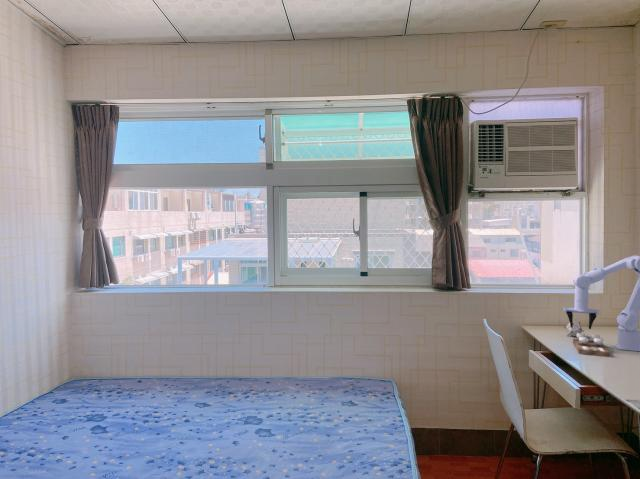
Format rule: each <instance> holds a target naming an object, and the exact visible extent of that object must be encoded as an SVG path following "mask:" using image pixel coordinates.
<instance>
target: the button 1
mask: <svg viewBox="0 0 640 479" xmlns="http://www.w3.org/2000/svg"><path fill="white" fill-rule="evenodd" d="M578 339H579V342H583V343H587V342H588V340H589V338H588V337H586V336H585V337H579V338H578Z"/></svg>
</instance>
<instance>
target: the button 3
mask: <svg viewBox="0 0 640 479" xmlns="http://www.w3.org/2000/svg"><path fill="white" fill-rule="evenodd" d="M594 343H596V344H604V339H603V338H594Z"/></svg>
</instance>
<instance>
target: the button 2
mask: <svg viewBox="0 0 640 479" xmlns="http://www.w3.org/2000/svg"><path fill="white" fill-rule="evenodd" d="M600 337H601V335H599V334H593V333H592V334H590V340H594V338H600ZM600 339H601V338H600Z"/></svg>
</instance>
